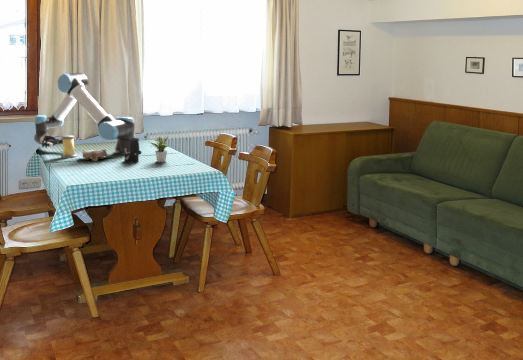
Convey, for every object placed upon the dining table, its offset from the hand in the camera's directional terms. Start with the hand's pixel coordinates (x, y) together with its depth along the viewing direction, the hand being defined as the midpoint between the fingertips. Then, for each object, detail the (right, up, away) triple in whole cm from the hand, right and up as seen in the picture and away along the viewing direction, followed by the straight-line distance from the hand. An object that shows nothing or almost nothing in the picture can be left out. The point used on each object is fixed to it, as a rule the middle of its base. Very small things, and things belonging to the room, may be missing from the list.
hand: (62, 144), depth 407 cm
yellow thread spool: (+5, -8, -4) cm, 10 cm away
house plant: (+66, -11, -17) cm, 69 cm away
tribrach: (+24, -10, -12) cm, 28 cm away
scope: (+49, -11, -19) cm, 53 cm away
